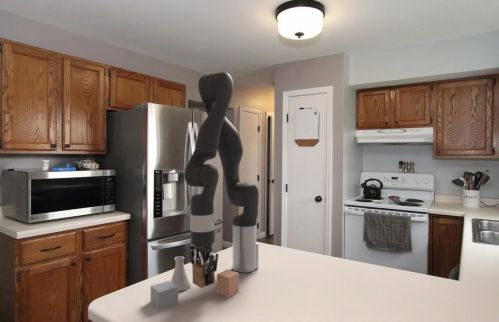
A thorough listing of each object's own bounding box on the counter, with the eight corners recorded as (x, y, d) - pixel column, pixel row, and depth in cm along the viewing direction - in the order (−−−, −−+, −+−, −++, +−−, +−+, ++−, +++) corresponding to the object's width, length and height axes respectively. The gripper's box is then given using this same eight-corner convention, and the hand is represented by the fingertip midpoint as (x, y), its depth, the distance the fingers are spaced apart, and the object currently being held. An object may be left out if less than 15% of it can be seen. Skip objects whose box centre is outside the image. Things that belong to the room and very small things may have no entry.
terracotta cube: (227, 287, 103) (227, 269, 103) (238, 291, 100) (239, 272, 100) (217, 292, 99) (217, 274, 99) (229, 296, 96) (229, 277, 96)
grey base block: (169, 296, 97) (169, 280, 97) (178, 303, 92) (178, 286, 92) (150, 302, 93) (150, 285, 93) (158, 309, 88) (158, 292, 88)
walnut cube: (206, 278, 101) (205, 260, 101) (214, 283, 97) (214, 264, 97) (192, 282, 98) (192, 263, 98) (200, 288, 94) (200, 268, 94)
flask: (185, 293, 99) (185, 262, 99) (164, 291, 100) (164, 260, 100) (193, 284, 106) (193, 255, 106) (174, 282, 107) (174, 253, 107)
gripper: (225, 230, 94) (226, 285, 94) (201, 222, 105) (202, 271, 105) (204, 234, 89) (205, 293, 90) (180, 225, 100) (182, 277, 101)
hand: (203, 281), depth 97 cm, fingers closed on walnut cube, 5 cm apart
